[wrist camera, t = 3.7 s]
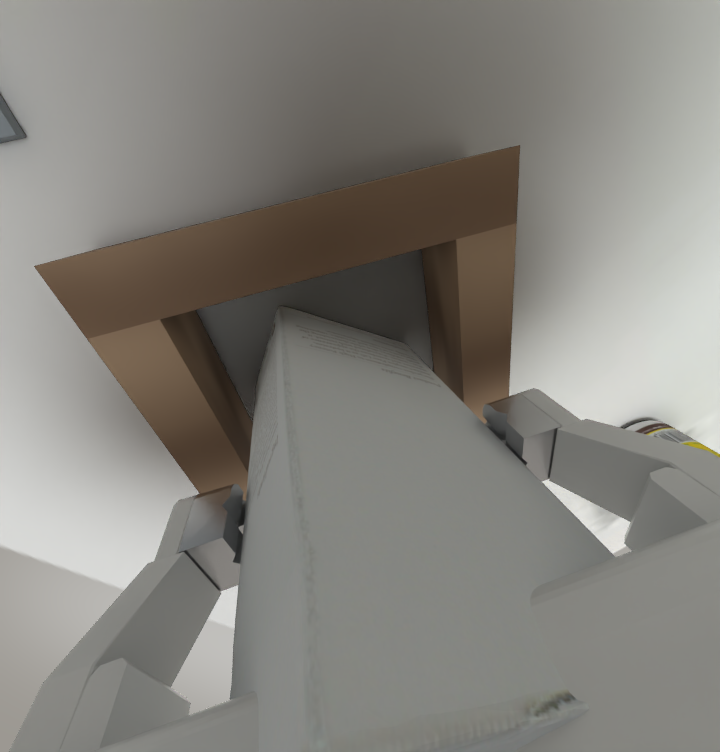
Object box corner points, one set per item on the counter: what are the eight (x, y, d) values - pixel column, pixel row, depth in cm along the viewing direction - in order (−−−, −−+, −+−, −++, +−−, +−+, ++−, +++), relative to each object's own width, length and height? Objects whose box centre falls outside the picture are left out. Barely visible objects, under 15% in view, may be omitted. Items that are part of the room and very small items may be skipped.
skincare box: (253, 391, 14) (176, 934, 4) (279, 294, 12) (270, 809, 2) (377, 415, 16) (549, 801, 6) (414, 336, 14) (754, 685, 4)
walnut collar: (95, 249, 10) (34, 266, 8) (466, 157, 11) (520, 145, 9) (249, 500, 17) (243, 554, 14) (473, 428, 18) (505, 466, 15)
